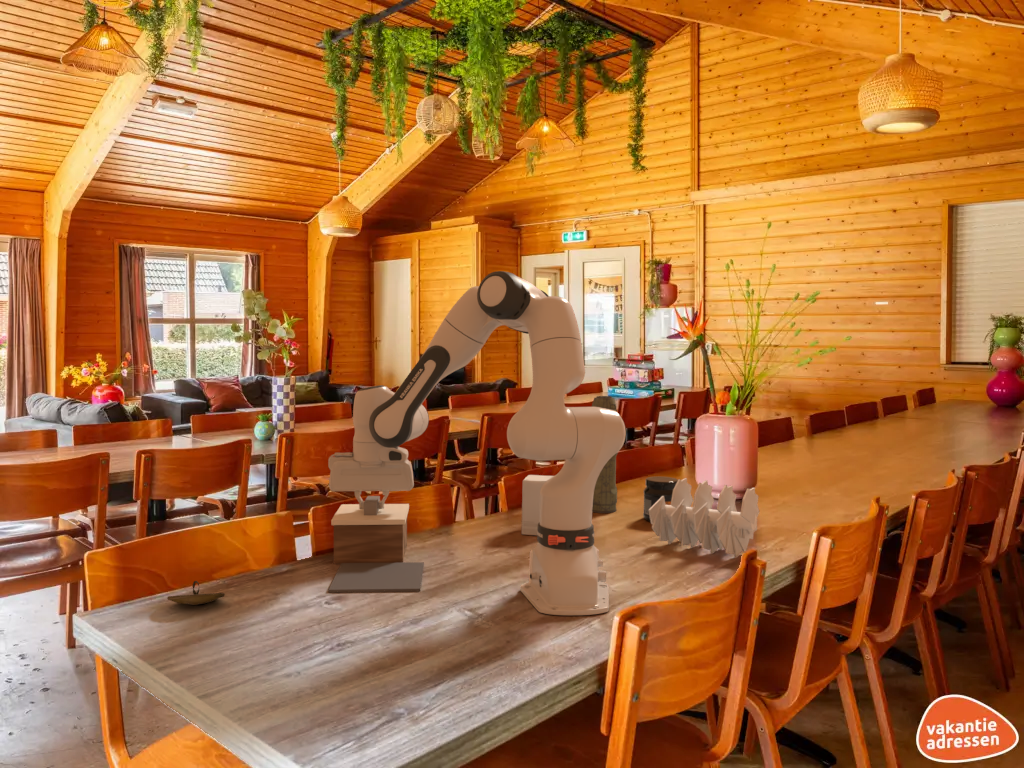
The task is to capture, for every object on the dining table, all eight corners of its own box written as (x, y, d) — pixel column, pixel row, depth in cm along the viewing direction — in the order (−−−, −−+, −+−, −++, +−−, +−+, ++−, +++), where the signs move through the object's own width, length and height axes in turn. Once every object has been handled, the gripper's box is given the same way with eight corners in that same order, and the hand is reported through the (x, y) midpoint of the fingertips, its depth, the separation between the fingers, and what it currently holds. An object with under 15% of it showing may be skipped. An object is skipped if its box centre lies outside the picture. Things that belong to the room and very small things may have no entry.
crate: (402, 563, 188) (402, 525, 187) (333, 563, 186) (333, 525, 186) (406, 544, 203) (406, 510, 203) (343, 545, 202) (343, 510, 202)
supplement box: (553, 537, 213) (554, 481, 212) (520, 535, 214) (521, 480, 213) (558, 529, 221) (559, 475, 220) (527, 527, 223) (527, 474, 222)
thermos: (612, 515, 238) (614, 398, 236) (578, 509, 245) (580, 396, 243) (626, 510, 245) (628, 396, 243) (593, 504, 252) (595, 394, 250)
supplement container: (686, 522, 231) (687, 481, 230) (655, 525, 227) (656, 483, 226) (666, 514, 240) (667, 475, 240) (636, 517, 236) (637, 477, 236)
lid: (164, 618, 151) (163, 592, 150) (170, 601, 160) (170, 576, 160) (223, 613, 154) (223, 587, 154) (226, 596, 163) (225, 572, 163)
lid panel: (405, 529, 186) (404, 506, 186) (331, 530, 185) (331, 507, 185) (409, 513, 203) (409, 492, 203) (341, 513, 202) (341, 492, 202)
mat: (420, 591, 167) (420, 588, 167) (328, 592, 166) (328, 589, 166) (423, 564, 186) (423, 562, 186) (341, 565, 185) (341, 563, 185)
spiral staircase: (669, 553, 213) (761, 566, 197) (640, 537, 200) (736, 549, 184) (681, 487, 218) (771, 495, 203) (653, 467, 205) (747, 474, 190)
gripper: (326, 454, 189) (326, 512, 190) (412, 454, 191) (412, 511, 192) (330, 450, 195) (330, 506, 196) (414, 450, 197) (414, 505, 198)
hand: (372, 508), depth 194 cm, fingers closed on lid panel, 3 cm apart
